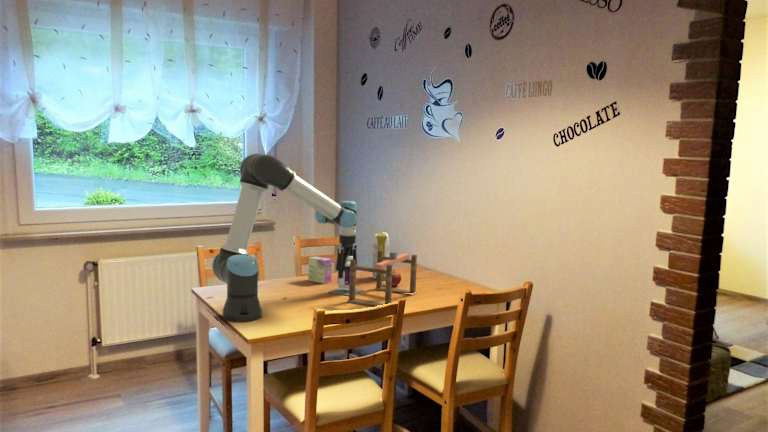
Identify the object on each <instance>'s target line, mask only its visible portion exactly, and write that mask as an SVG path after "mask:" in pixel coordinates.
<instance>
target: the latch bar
mask: <svg viewBox="0 0 768 432" xmlns="http://www.w3.org/2000/svg"><path fill="white" fill-rule="evenodd" d="M410 256H411V255H410V254H409V253H402V254H398V252H397V251H389V257H390V259H388V260H385V261H383V262H380V263H377V264H375V269H380V270H382V269H385V268H386V265H387V264H390V265H392V266H395V265H397V264H399V263H403V262H402V261H405V260H407V259H409V260H411V257H410Z"/></svg>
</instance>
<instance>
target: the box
mask: <svg viewBox="0 0 768 432" xmlns="http://www.w3.org/2000/svg"><path fill="white" fill-rule="evenodd" d="M332 268H333V259H332V258H327V257H322V256H318V255H317V256H316V255H315V256H310V257H308V273H307V274H308V275H307V277H308V278H307V281H308V282H313V283H314V282H315V283H319V284H323V285H326V284H330V283H332Z"/></svg>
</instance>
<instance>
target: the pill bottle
mask: <svg viewBox="0 0 768 432" xmlns="http://www.w3.org/2000/svg"><path fill="white" fill-rule="evenodd" d="M352 259H353V256H349V255H348V257H347V259H346V263H345V268H344V271H345V285H339V271H337V286H338V288H339V287H341V288H349V280H350V260H352Z"/></svg>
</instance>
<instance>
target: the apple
mask: <svg viewBox="0 0 768 432" xmlns="http://www.w3.org/2000/svg"><path fill="white" fill-rule="evenodd" d="M401 280H402V275H401V273H400V272H398V271H395V270H392V287H395V286H396V285H397V286H399V284H400V283H401ZM384 281H386V276H385V280H384ZM397 286H396V287H397Z"/></svg>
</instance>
